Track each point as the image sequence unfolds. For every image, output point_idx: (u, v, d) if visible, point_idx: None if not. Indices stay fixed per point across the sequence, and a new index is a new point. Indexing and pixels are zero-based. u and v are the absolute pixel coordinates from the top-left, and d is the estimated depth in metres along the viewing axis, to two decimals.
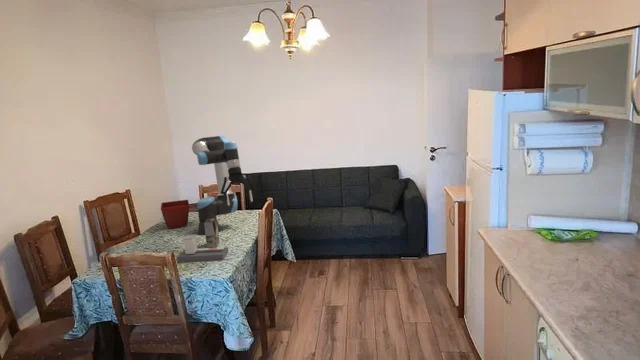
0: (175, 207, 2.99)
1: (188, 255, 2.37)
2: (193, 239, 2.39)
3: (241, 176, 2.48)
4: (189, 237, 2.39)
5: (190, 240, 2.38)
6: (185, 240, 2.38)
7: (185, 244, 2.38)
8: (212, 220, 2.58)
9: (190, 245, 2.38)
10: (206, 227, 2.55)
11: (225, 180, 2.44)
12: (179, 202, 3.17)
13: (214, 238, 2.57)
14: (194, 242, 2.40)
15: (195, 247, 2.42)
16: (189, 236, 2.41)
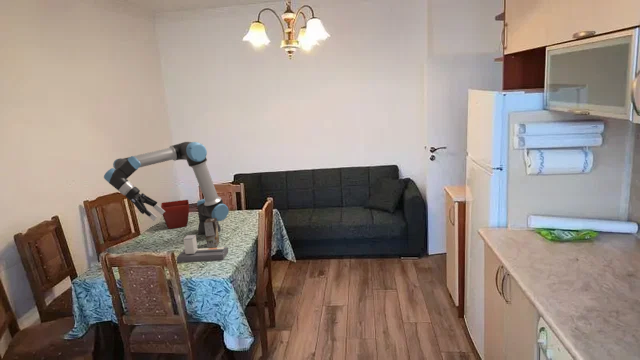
0: (175, 207, 2.99)
1: (188, 255, 2.37)
2: (193, 239, 2.39)
3: None
4: (189, 237, 2.39)
5: (190, 240, 2.38)
6: (185, 240, 2.38)
7: (185, 244, 2.38)
8: (212, 220, 2.58)
9: (190, 245, 2.38)
10: (206, 227, 2.55)
11: None
12: (179, 202, 3.17)
13: (214, 238, 2.57)
14: (194, 242, 2.40)
15: (195, 247, 2.42)
16: (189, 236, 2.41)
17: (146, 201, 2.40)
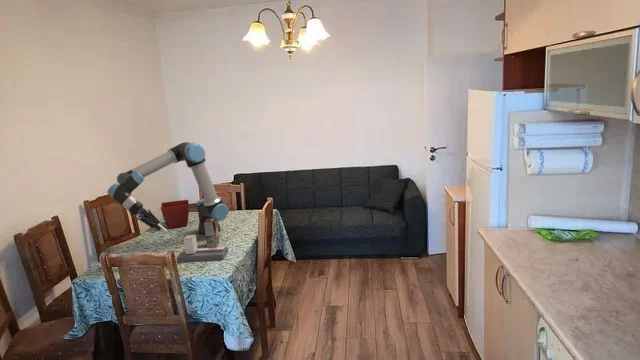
0: (175, 207, 2.99)
1: (188, 255, 2.37)
2: (193, 239, 2.39)
3: None
4: (189, 237, 2.39)
5: (190, 240, 2.38)
6: (185, 240, 2.38)
7: (185, 244, 2.38)
8: (212, 220, 2.58)
9: (190, 245, 2.38)
10: (206, 227, 2.55)
11: None
12: (179, 202, 3.17)
13: (214, 238, 2.57)
14: (194, 242, 2.40)
15: (195, 247, 2.42)
16: (189, 236, 2.41)
17: None
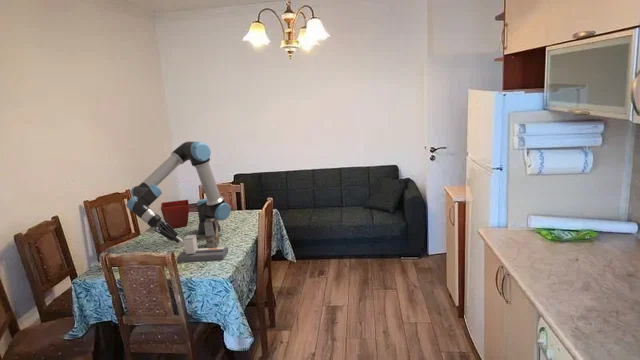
0: (175, 207, 2.99)
1: (188, 255, 2.37)
2: (193, 239, 2.39)
3: None
4: (189, 237, 2.39)
5: (190, 240, 2.38)
6: (185, 240, 2.38)
7: (185, 244, 2.38)
8: (212, 220, 2.58)
9: (190, 245, 2.38)
10: (206, 227, 2.55)
11: None
12: (179, 202, 3.17)
13: (214, 238, 2.57)
14: (194, 242, 2.40)
15: (196, 247, 2.42)
16: (189, 236, 2.41)
17: None
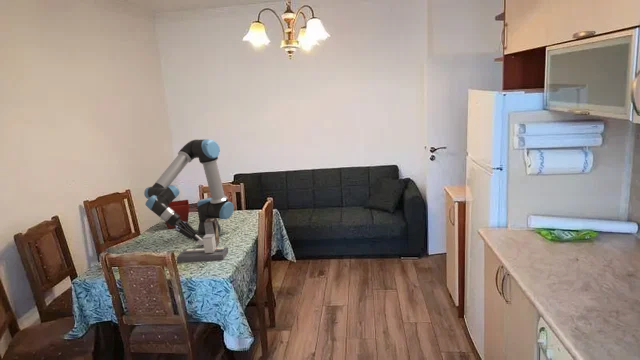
0: (175, 207, 2.99)
1: (188, 255, 2.37)
2: (212, 238, 2.39)
3: None
4: (208, 236, 2.39)
5: (209, 239, 2.37)
6: (204, 239, 2.37)
7: (204, 243, 2.38)
8: (212, 220, 2.58)
9: (209, 244, 2.38)
10: (206, 227, 2.55)
11: None
12: (179, 202, 3.17)
13: None
14: (213, 241, 2.40)
15: (214, 246, 2.42)
16: (208, 235, 2.40)
17: None
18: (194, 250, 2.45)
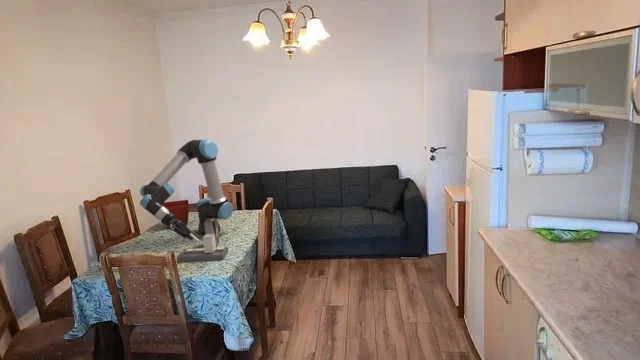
0: (175, 207, 2.99)
1: (188, 255, 2.37)
2: (212, 238, 2.39)
3: None
4: (208, 236, 2.39)
5: (209, 239, 2.37)
6: (204, 239, 2.37)
7: (204, 243, 2.38)
8: (212, 220, 2.58)
9: (209, 244, 2.38)
10: (206, 227, 2.55)
11: None
12: (179, 202, 3.17)
13: None
14: (213, 241, 2.40)
15: (214, 246, 2.42)
16: (208, 235, 2.40)
17: None
18: (194, 250, 2.45)
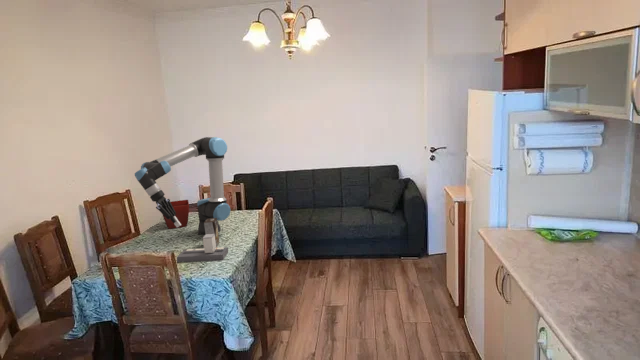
0: (175, 207, 2.99)
1: (188, 255, 2.37)
2: (212, 238, 2.39)
3: None
4: (208, 236, 2.39)
5: (209, 239, 2.37)
6: (204, 239, 2.37)
7: (204, 243, 2.38)
8: (212, 220, 2.58)
9: (209, 244, 2.38)
10: (206, 227, 2.55)
11: None
12: (179, 202, 3.17)
13: None
14: (213, 241, 2.40)
15: (214, 246, 2.42)
16: (208, 235, 2.40)
17: None
18: (194, 250, 2.45)
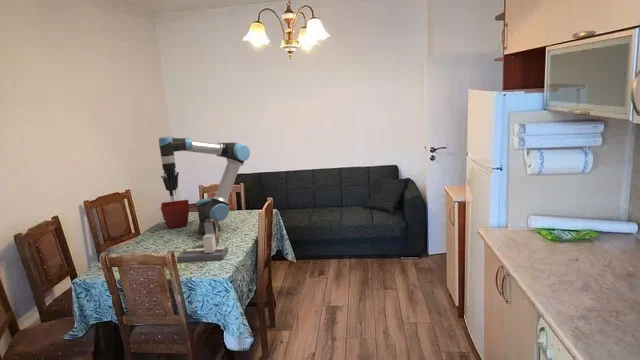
0: (175, 207, 2.99)
1: (188, 255, 2.37)
2: (212, 238, 2.39)
3: None
4: (208, 236, 2.39)
5: (209, 239, 2.37)
6: (204, 239, 2.37)
7: (204, 243, 2.38)
8: (212, 220, 2.58)
9: (209, 244, 2.38)
10: (206, 227, 2.55)
11: None
12: (179, 202, 3.17)
13: None
14: (213, 241, 2.40)
15: (214, 246, 2.42)
16: (208, 235, 2.40)
17: None
18: (194, 250, 2.45)
